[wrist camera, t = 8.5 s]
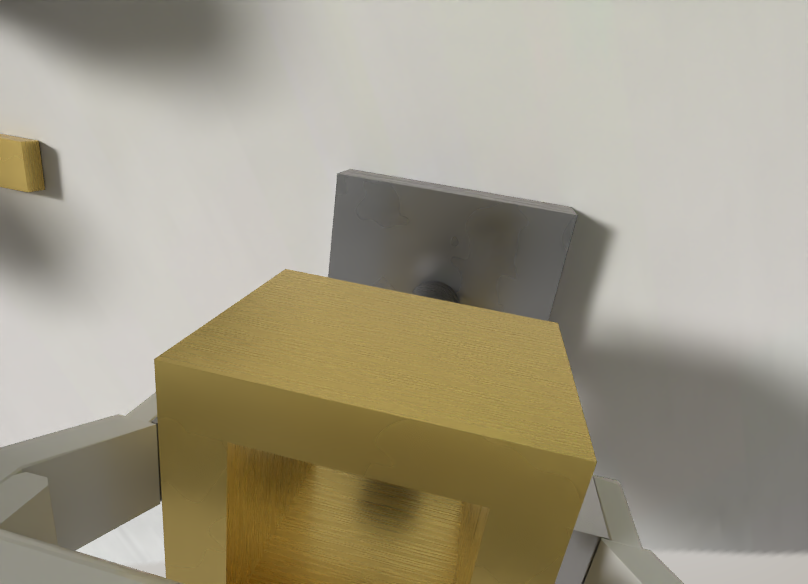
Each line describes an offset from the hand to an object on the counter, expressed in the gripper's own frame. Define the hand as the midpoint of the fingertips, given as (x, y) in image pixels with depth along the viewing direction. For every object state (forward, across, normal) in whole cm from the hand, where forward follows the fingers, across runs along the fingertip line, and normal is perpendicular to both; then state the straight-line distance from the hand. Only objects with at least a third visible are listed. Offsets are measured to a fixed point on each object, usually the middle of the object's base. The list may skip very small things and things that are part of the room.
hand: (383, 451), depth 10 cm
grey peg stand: (+10, 0, 0) cm, 10 cm away
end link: (+2, 0, 0) cm, 2 cm away
